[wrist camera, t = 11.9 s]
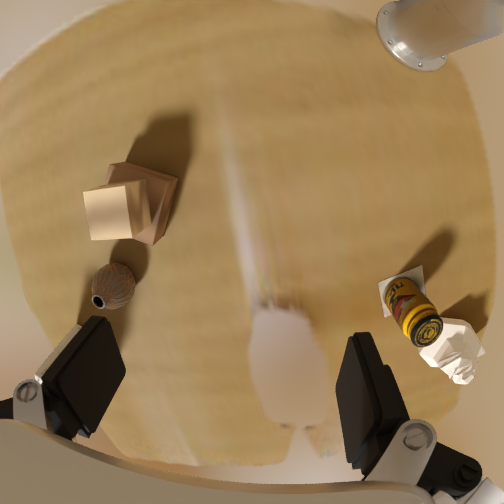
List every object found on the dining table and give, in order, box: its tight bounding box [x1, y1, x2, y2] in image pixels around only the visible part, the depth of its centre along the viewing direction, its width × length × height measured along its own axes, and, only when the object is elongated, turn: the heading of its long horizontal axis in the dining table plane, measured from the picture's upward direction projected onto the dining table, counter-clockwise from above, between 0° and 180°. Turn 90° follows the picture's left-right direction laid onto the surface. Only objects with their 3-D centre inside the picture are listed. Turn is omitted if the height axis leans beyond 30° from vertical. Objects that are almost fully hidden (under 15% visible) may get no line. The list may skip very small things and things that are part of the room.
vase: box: [91, 263, 135, 309], centre depth 40 cm, size 7×7×9 cm
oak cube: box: [83, 179, 151, 240], centre depth 32 cm, size 6×6×6 cm
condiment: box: [378, 265, 443, 347], centre depth 37 cm, size 7×8×12 cm
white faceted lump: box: [418, 317, 485, 384], centre depth 41 cm, size 12×15×14 cm
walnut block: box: [105, 162, 179, 246], centre depth 37 cm, size 9×9×5 cm
